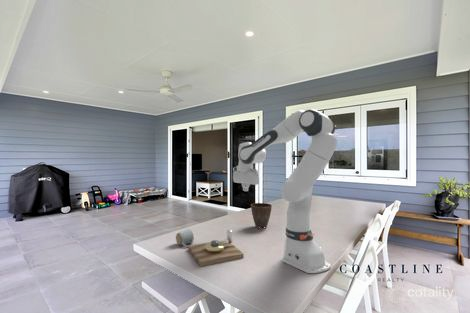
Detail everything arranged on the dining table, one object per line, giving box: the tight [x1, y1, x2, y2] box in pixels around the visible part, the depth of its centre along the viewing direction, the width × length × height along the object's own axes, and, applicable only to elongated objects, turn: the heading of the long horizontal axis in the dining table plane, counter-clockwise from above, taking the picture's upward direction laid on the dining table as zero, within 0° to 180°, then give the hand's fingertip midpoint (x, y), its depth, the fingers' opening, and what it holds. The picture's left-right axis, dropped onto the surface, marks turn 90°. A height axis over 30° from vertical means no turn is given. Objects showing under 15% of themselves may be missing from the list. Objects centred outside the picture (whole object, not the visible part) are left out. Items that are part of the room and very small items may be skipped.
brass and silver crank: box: [205, 229, 233, 253], centre depth 118 cm, size 10×16×8 cm, turn 123°
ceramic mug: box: [175, 228, 195, 248], centre depth 129 cm, size 11×8×8 cm
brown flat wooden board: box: [188, 241, 245, 267], centre depth 116 cm, size 22×22×2 cm
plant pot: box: [250, 202, 273, 229], centre depth 162 cm, size 15×15×16 cm
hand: (245, 190), depth 139 cm, fingers closed
